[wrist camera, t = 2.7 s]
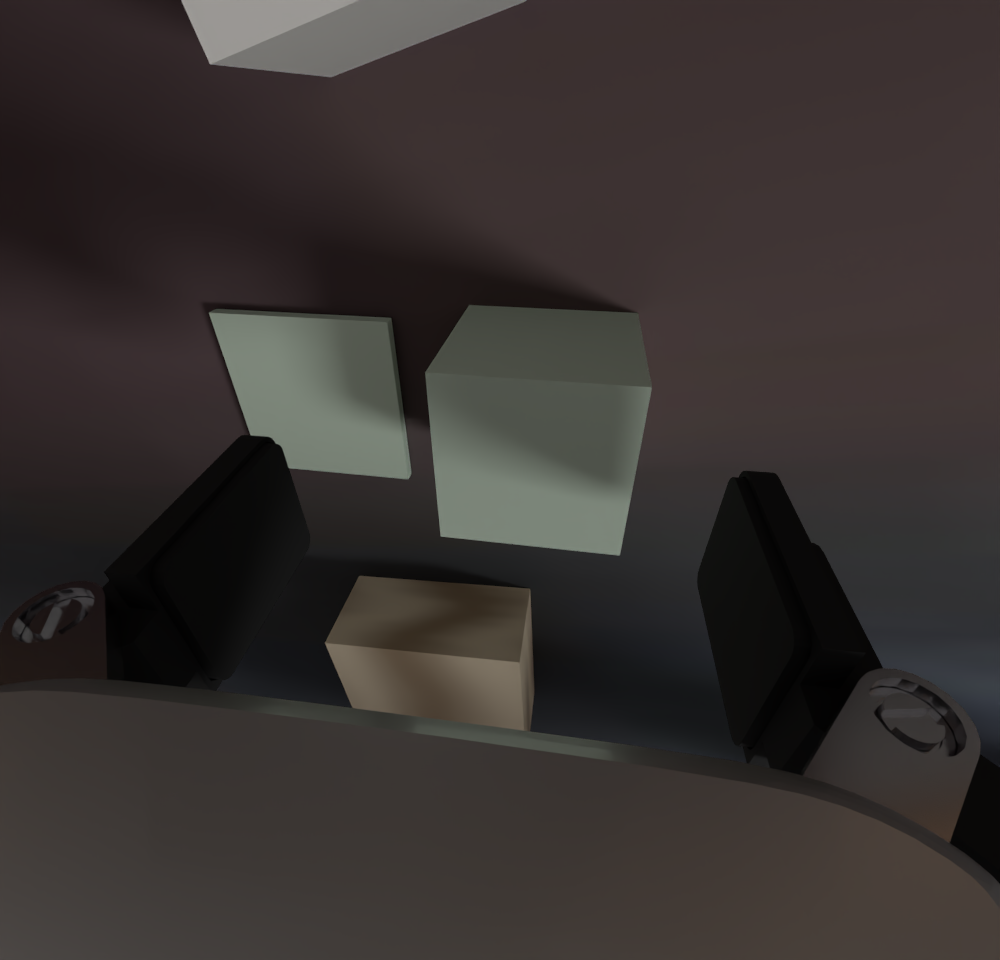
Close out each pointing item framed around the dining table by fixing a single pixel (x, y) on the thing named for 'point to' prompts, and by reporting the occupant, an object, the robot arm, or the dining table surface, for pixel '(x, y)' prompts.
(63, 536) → the dining table surface
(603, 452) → the sage cube
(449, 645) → the tan square block
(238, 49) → the offwhite cube
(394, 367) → the sage swatch
